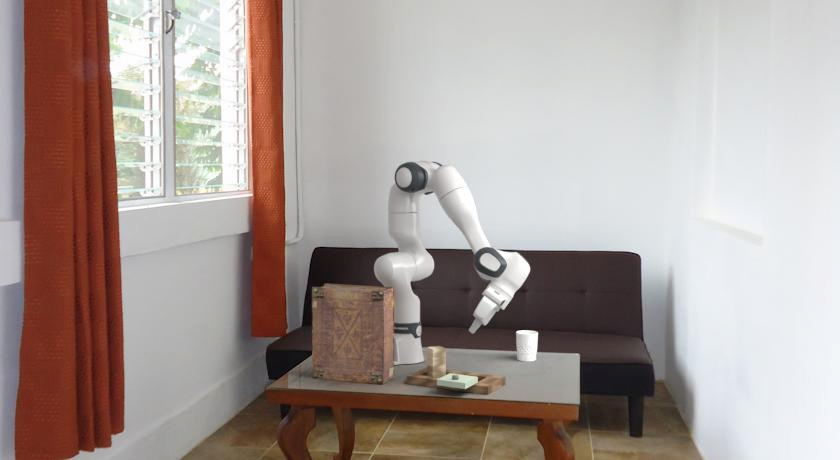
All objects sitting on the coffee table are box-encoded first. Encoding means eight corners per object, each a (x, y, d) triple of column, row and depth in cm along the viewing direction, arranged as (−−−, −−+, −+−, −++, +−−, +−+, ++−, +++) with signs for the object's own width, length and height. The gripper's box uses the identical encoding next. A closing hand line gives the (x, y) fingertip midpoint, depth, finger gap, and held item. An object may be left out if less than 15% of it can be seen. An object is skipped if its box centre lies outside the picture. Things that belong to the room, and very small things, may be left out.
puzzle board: (406, 383, 272) (406, 375, 272) (427, 374, 284) (427, 367, 284) (487, 394, 259) (487, 386, 259) (505, 384, 271) (505, 376, 271)
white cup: (532, 363, 302) (532, 335, 301) (511, 360, 306) (512, 332, 305) (541, 359, 308) (541, 331, 308) (521, 356, 312) (521, 329, 312)
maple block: (432, 383, 272) (432, 349, 271) (427, 380, 276) (427, 347, 275) (445, 382, 274) (445, 348, 273) (440, 379, 278) (440, 345, 277)
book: (311, 378, 279) (311, 286, 277) (324, 371, 288) (323, 283, 286) (383, 384, 271) (383, 290, 268) (394, 378, 279) (394, 287, 277)
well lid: (436, 385, 259) (436, 376, 259) (449, 378, 267) (450, 370, 267) (465, 389, 255) (465, 379, 254) (477, 382, 262) (477, 373, 262)
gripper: (489, 295, 290) (465, 329, 289) (486, 288, 270) (460, 323, 269) (504, 306, 288) (480, 340, 287) (502, 300, 268) (476, 335, 267)
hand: (470, 332), depth 278 cm, fingers closed
